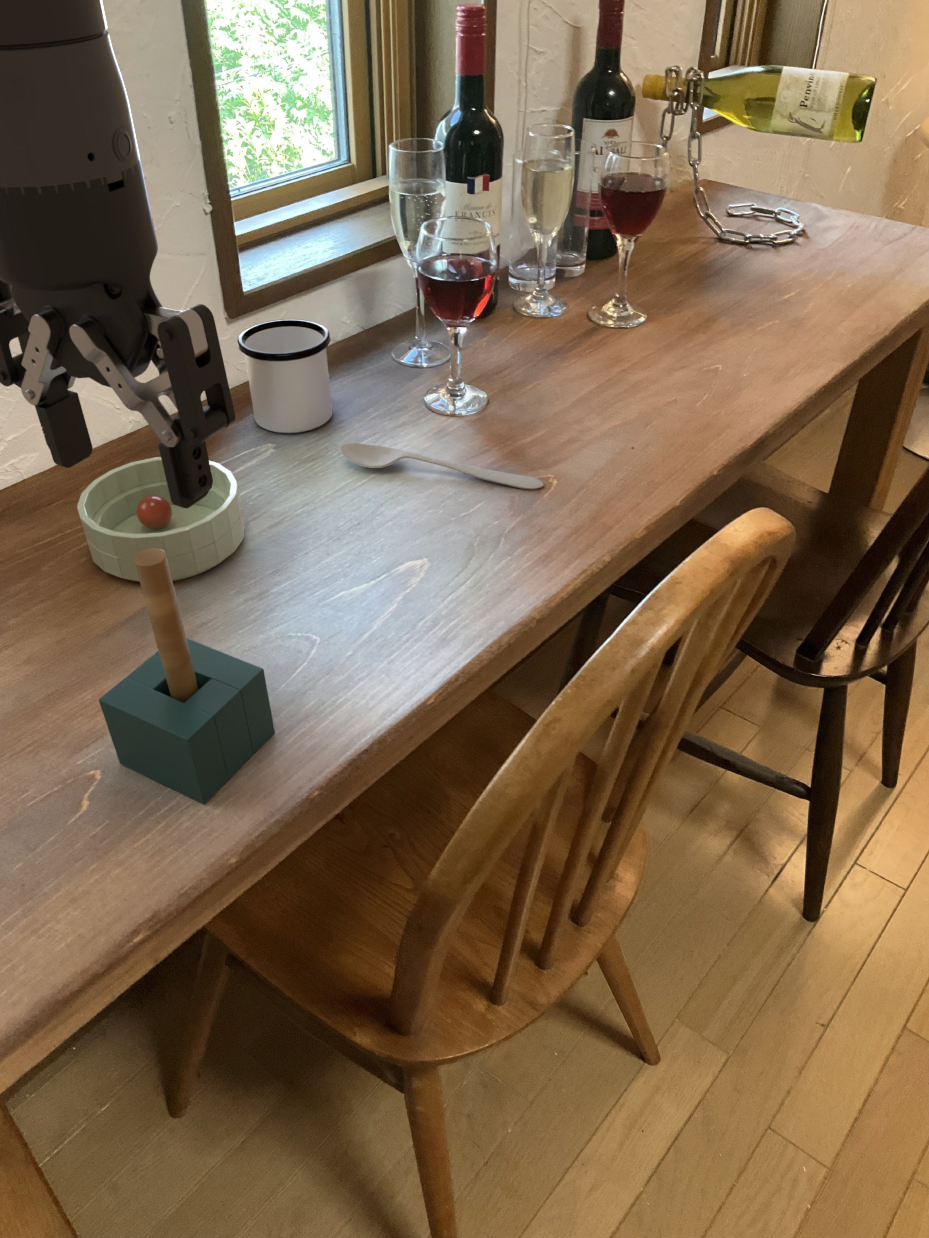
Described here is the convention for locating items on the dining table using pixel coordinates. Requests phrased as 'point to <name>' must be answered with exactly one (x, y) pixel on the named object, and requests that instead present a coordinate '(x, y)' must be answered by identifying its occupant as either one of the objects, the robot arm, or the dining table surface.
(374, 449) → the spoon
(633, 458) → the dining table surface
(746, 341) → the dining table surface
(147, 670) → the holder
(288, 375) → the mug
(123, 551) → the bowl
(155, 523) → the ball
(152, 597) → the stick
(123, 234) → the robot arm
